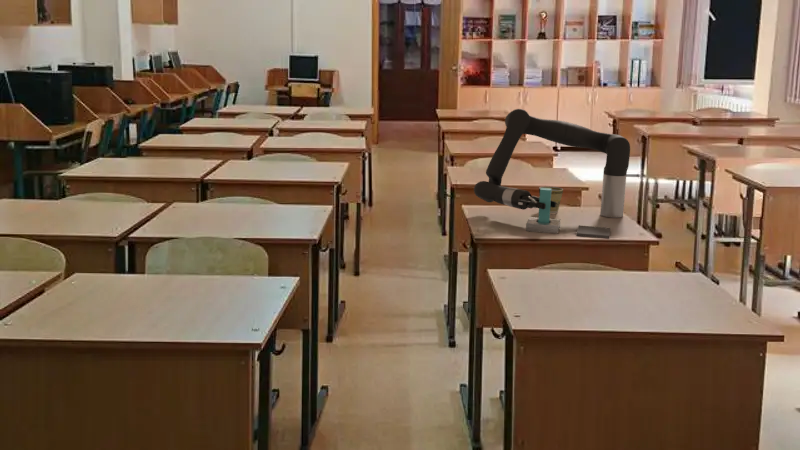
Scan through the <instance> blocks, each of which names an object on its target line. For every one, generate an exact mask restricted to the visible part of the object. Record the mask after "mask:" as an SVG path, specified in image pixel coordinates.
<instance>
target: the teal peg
mask: <svg viewBox="0 0 800 450" xmlns="http://www.w3.org/2000/svg"><path fill="white" fill-rule="evenodd" d="M551 192H552V188H541V189H540V196H539V197H540V201H539V202H541V203H545V204H546V207H545V209H540V208H538V217H537V218H538V222H540V223H549V222H550V219H551V214H550V207H551Z"/></svg>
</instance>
